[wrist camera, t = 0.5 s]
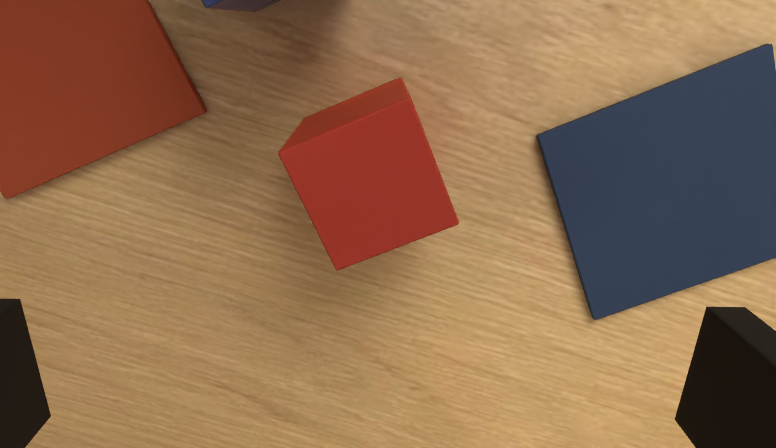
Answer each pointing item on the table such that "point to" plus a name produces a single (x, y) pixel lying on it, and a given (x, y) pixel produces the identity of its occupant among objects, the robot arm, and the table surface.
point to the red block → (368, 175)
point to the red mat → (83, 85)
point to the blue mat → (670, 183)
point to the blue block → (238, 4)
